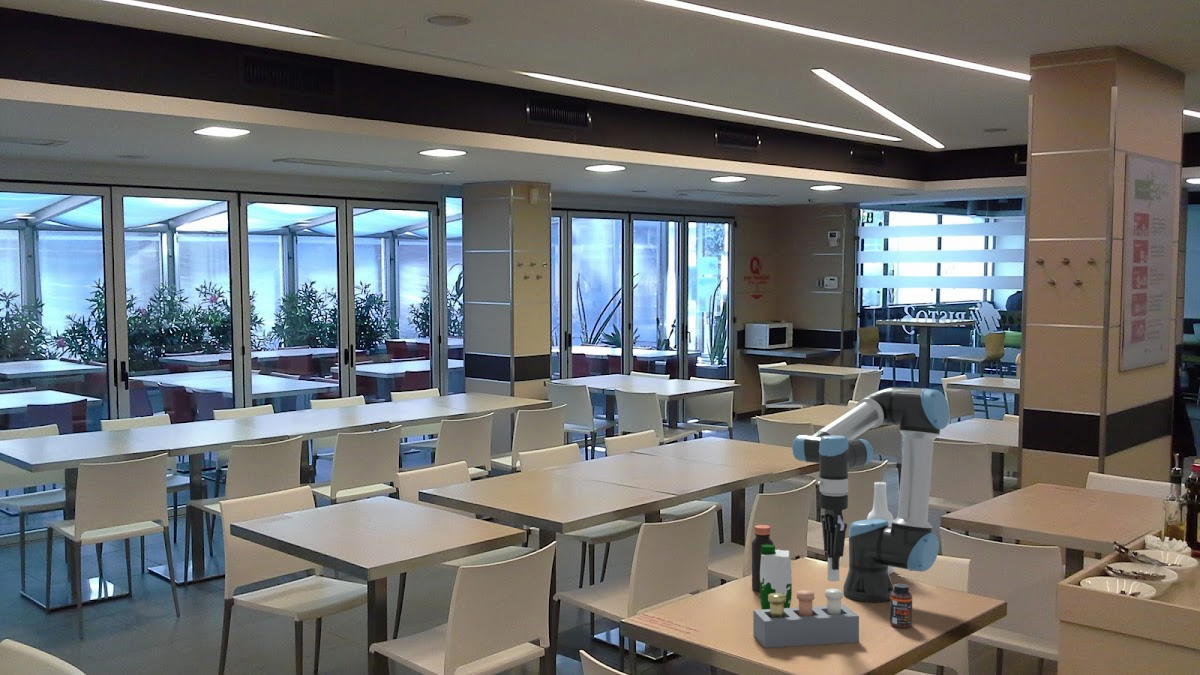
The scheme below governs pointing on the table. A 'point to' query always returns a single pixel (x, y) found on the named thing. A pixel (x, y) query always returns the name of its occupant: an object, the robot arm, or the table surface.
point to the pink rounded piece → (805, 602)
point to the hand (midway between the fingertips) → (833, 580)
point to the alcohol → (881, 508)
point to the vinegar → (758, 553)
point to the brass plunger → (776, 605)
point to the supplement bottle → (901, 606)
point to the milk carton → (775, 574)
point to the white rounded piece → (833, 601)
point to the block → (805, 627)
